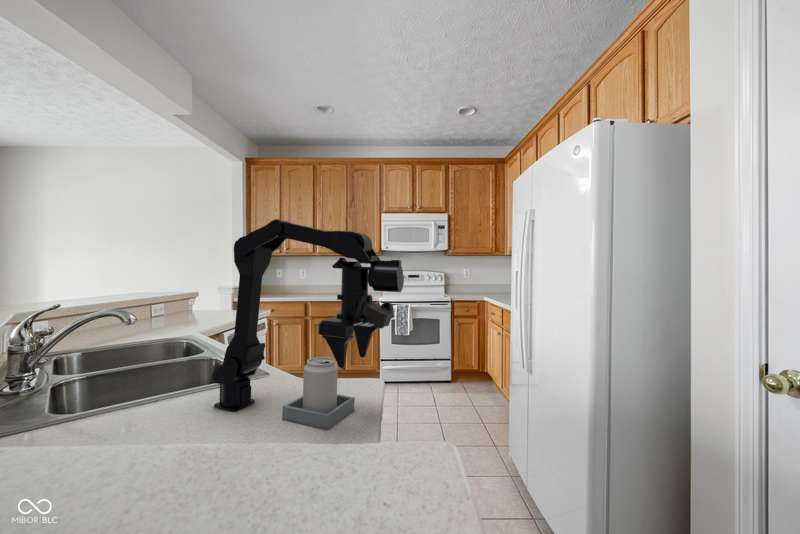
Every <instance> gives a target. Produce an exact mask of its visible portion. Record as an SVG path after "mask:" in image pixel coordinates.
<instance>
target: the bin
mask: <svg viewBox="0 0 800 534" xmlns="http://www.w3.org/2000/svg"><path fill="white" fill-rule="evenodd" d="M355 398H356V397H354V396H348V395H344V394H338V393H337V407H336V408H335V409H334V410H332V411H331V412H329V413H328V414H324V413H319V412H314V411H310V410H305V409H303V395H301V396H299V397H297V398H295V399H293V400H292V401H290V402H288V403H287V404H284V405H282V411H281V412H282V414H281V415H282V416H281V418H282V419H281V420H282V421H285V422H290V423H294V424H297V425H302V426H307V427H310V428H311V427H312V428H315V429H319V430H324V431H328V430H330V429H331V428H332V427H334V426H335V425H337V424H338V423H339V422H341V421H343V419H345V418H346V417H347V416H348V415H350V414H351V413H353V412H355V404H356V403H355V401H356V400H355Z"/></svg>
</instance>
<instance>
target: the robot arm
mask: <svg viewBox="0 0 800 534" xmlns="http://www.w3.org/2000/svg"><path fill="white" fill-rule="evenodd" d="M286 240H293V241H295V242H296V241H297V242H301V243H305V244H310V245H315V246H319V247H324V248H326V249H328V250H330V251H332V252H333V253H335V254H337V255H340V256H342V257H339V259H338V260H337V261H336V262H335V263H334V264H333V265H332V266H331V267H332V268H333V269H338V270H339V269H341V288H340V289H341V293H340V294H336V295H337V296H336V299H337V300H339V301H340V313H336V318H334V317H331V318H328V319H323V320H321V321H320V323H318V324H317V325H318V327H317V334H318V335H319V336H321V338H322V339H324V340H325V342H326V343H327V344H328V346H329V347H328V348H329V349H330V351H331V352H332V355H333V357H334V360H335V363H336V365H337V367H338V368H340V369H344V368H345V365H346V360H347V353H348V346H349V342H350V341H352V339H353V338H354V337H355V340H356V346H357V351H358V353H359V354H358V355H359V357H360V358H365V357H366V355H367V352H368V349H369V347H370V343H371V340H372V337H373V334H374V333H375V332H376V331H377V330H379V329H384V328H385V327H389V325H390V323H391V320H392V319H393V318H394V317H395V311H394V304H392V303H390V302H389V301H386V302H383V303H382V304H380V303H375V302H373V301H374V299H373V296H372V294H369V287H370V288H372V290H373V291H374V292H387V293H401V292H402V291H403V289H404V288H403V287H404V282H405V275H404V271H403V266H402V260H401V259H391V260H381V259H380V257H379V255H378V254H377V253H376V251H375V250H374V248H373V242H372V241H373V240H371V238H370V236H369V235H367V234H366V233H362V232H359V231H354V230H325V229H321V228H315V227H310V226H307V225H302V224H298V223H292V222H290V221H288V220H283V219H279V218H278V219H277V218H276V219H273V220H271V221H270V222H268V223H267V224H265V225H264V226H261V227H260V228H257V229H256V230H253V231H251V232H249V233H248V234H247V235H244V236H241V237H239V238H238V239H237V240H235V242H234V245H233V259H234V260H233V262H234V264H235V267H236V269H237V271H238V274H239V278H238V279H239V280H238V291H237V301H236V314H235V321H234V333H233V336H232V339H231V341H230V342H229V344H228V346H227V347H226V349H225V352H224V353H225V354H224V357H223V361H222V364H220V366H219V367H218V368H217V369H216V370H215V371H214V372H213V373H211V376H212V379H213V382H214V384H218V385H219V402H216V403H214V404H213V407H214V408H218V409H222V410H227V411H230V412H236V411H238V410H240V409H243V408H245V407H247V406H249V405H251V404H254V403H255V401H256V400H255V399H252V385H251V378H250V377H251V376H255V375H256V373H257V369H258V368H259V367H260V366H262V365H261V364H262V361H264V360H265V347H266V343H265V342H260V340H259V338H258V324H259V314H260V303H261V293H262V285H263V283H262V282H263V276H264V274H265V272H266V271H267V269H268V267H269V266H270V263H271V259H272V256H273V253H274V252H275V251H276V250H279V248H281V246H282V245H283V243H284V242H285V241H286ZM346 258H348V259H354V260H355V261H354V260H353V261H352V260H351V261H350V260H347V259H346ZM362 264H366V265H370V266H362ZM353 333H354V335H353Z"/></svg>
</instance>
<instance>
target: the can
mask: <svg viewBox="0 0 800 534" xmlns="http://www.w3.org/2000/svg"><path fill="white" fill-rule="evenodd" d="M338 370H339V366H338V364H337V363H336V359H335V358H332V357H328V356H320V357H319V356H315V357H311V358H309V359H306V364H305V365H304V366H303V381H302V382H303V384H302V385H303V386H302V388H303V389H302V396H303V409H305V410H310V411H314V412H319V413H324V414H328V413H329V412H331V411H332V410H334V409H335V408H336V407H337V394H338V376H339V375H338Z"/></svg>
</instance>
